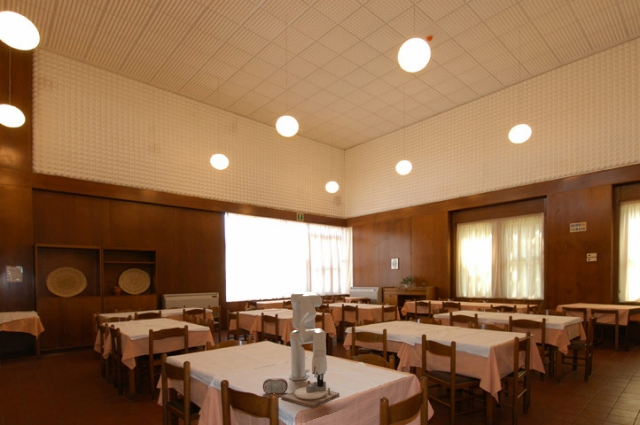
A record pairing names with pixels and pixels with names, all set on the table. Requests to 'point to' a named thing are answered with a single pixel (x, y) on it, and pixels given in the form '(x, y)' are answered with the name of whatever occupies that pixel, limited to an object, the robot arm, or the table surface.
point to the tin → (275, 386)
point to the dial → (311, 391)
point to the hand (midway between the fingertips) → (320, 386)
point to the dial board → (312, 402)
